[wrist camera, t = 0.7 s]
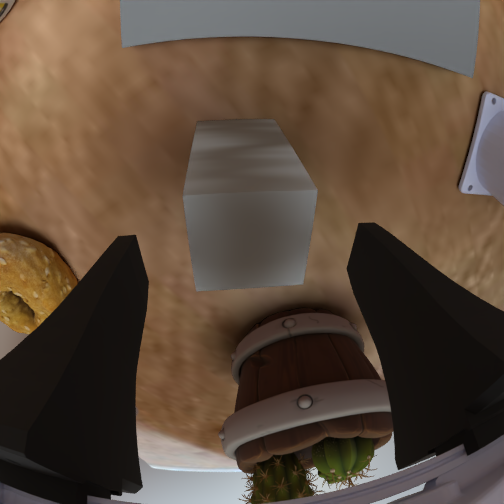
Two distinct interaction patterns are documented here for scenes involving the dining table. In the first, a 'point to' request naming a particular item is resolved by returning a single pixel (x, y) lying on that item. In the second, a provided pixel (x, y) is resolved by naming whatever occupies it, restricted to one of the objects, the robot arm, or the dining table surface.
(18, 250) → the bagel
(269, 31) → the socket board
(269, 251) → the peg
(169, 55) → the dining table surface
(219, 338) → the dining table surface
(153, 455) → the dining table surface
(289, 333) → the flowerpot
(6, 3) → the supplement bottle
